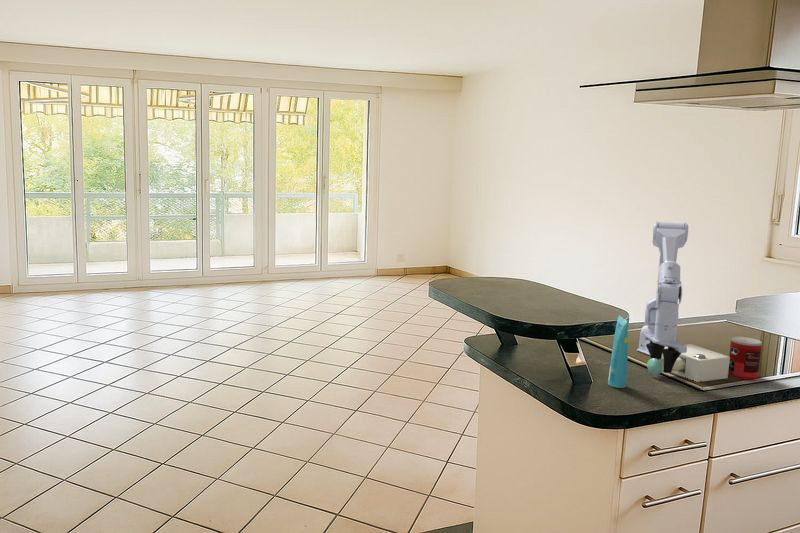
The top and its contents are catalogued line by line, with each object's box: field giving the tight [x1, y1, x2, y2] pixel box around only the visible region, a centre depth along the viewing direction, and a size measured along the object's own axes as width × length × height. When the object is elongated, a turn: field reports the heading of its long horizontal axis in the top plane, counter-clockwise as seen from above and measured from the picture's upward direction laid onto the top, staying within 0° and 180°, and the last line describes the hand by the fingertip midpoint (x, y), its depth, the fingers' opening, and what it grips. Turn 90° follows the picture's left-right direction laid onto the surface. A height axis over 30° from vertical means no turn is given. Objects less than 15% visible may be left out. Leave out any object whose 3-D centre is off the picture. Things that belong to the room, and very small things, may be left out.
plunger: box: [696, 354, 705, 359], centre depth 178 cm, size 2×2×4 cm
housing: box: [661, 343, 730, 383], centre depth 184 cm, size 14×12×6 cm
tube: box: [607, 314, 629, 389], centre depth 170 cm, size 7×5×19 cm, turn 3°
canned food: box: [728, 336, 763, 381], centre depth 182 cm, size 8×8×11 cm
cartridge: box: [646, 357, 686, 376], centre depth 181 cm, size 5×17×5 cm, turn 112°
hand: (661, 370), depth 180 cm, fingers closed on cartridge, 4 cm apart
